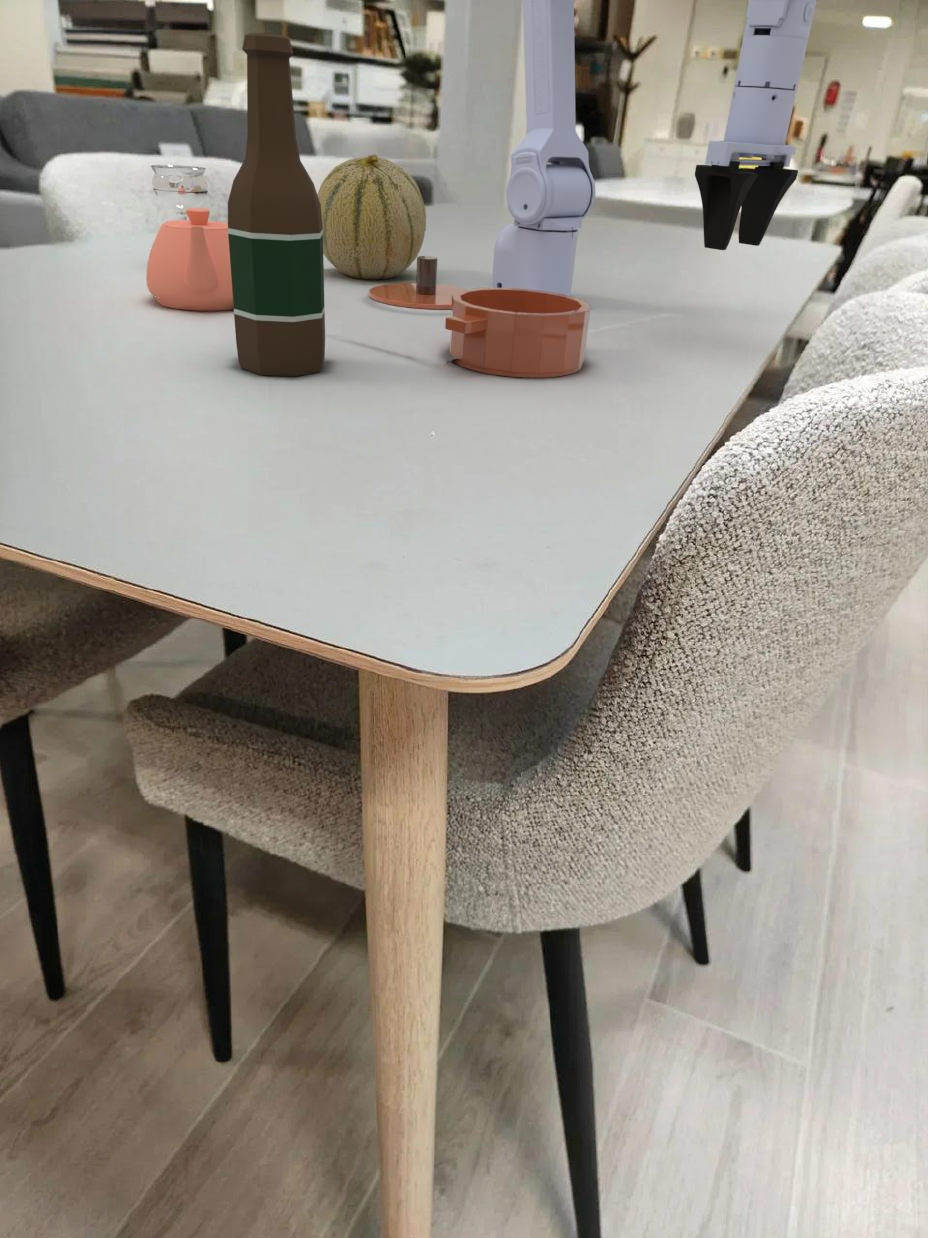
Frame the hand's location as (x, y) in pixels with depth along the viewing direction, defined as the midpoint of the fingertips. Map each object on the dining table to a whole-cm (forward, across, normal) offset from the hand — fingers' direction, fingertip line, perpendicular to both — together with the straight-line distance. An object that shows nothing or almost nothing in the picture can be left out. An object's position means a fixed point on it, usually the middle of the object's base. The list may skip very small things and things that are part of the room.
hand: (732, 246), depth 87 cm
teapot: (+10, -32, +46) cm, 57 cm away
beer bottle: (+10, -42, +20) cm, 47 cm away
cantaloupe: (+10, -5, +48) cm, 49 cm away
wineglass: (+10, -21, +66) cm, 70 cm away
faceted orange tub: (+10, -23, +9) cm, 26 cm away
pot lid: (+10, -10, +33) cm, 36 cm away
